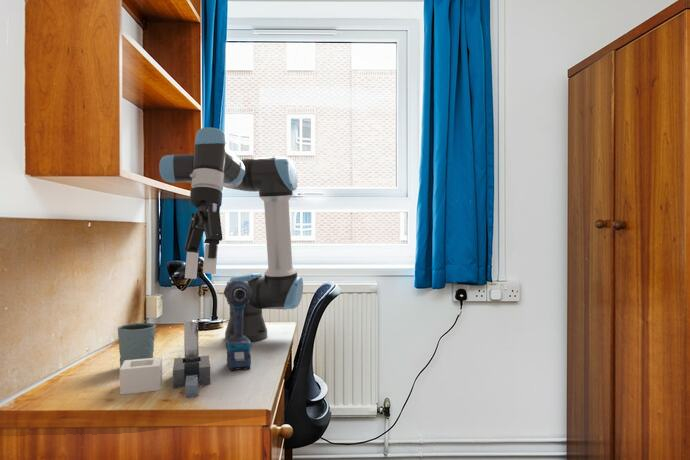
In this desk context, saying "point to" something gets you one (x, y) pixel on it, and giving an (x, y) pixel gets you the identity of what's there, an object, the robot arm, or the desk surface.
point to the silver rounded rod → (191, 341)
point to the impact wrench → (238, 325)
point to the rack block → (141, 375)
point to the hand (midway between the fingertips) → (199, 276)
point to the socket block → (191, 371)
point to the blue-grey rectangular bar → (192, 386)
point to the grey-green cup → (136, 341)
